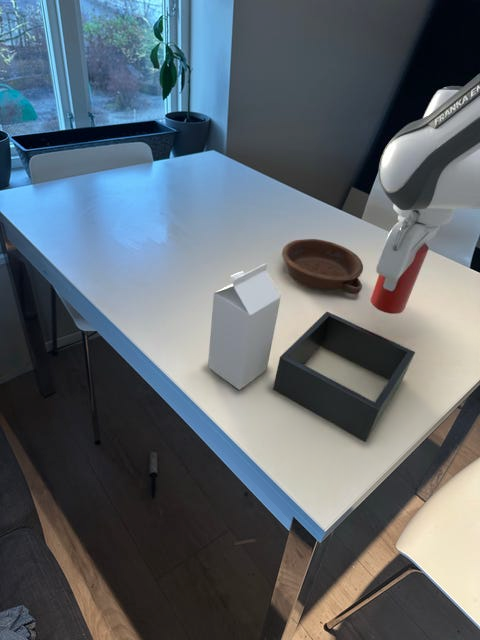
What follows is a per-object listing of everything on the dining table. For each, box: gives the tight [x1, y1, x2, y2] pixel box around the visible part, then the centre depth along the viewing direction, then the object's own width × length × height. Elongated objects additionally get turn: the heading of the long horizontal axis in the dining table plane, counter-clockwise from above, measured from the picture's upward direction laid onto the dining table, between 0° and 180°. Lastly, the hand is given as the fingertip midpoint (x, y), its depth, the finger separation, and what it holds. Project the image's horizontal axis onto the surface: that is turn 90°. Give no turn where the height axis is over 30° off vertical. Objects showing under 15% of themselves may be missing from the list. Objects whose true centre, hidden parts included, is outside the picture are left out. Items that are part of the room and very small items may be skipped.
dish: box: [281, 238, 364, 295], centre depth 100 cm, size 18×22×5 cm
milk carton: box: [207, 262, 282, 391], centre depth 69 cm, size 7×7×19 cm
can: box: [370, 243, 430, 315], centre depth 76 cm, size 6×6×12 cm
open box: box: [272, 311, 416, 443], centre depth 72 cm, size 16×16×7 cm
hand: (396, 279), depth 76 cm, fingers closed on can, 6 cm apart
